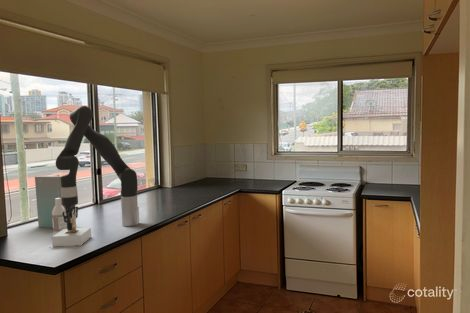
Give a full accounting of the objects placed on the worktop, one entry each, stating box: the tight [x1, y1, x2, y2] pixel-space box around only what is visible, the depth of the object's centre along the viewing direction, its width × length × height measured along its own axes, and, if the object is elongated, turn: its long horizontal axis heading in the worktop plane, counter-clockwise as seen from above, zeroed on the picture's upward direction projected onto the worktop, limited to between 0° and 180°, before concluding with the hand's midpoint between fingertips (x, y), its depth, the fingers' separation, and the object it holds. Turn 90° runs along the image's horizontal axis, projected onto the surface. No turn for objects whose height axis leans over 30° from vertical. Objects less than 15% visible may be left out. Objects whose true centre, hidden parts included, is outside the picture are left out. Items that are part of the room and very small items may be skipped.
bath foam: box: [52, 198, 67, 236], centre depth 207 cm, size 7×7×20 cm
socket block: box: [51, 227, 92, 247], centre depth 194 cm, size 14×14×5 cm
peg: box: [68, 214, 77, 234], centre depth 194 cm, size 4×4×12 cm
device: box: [34, 174, 65, 229], centre depth 226 cm, size 16×8×30 cm, turn 73°
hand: (71, 228), depth 194 cm, fingers open, 4 cm apart
